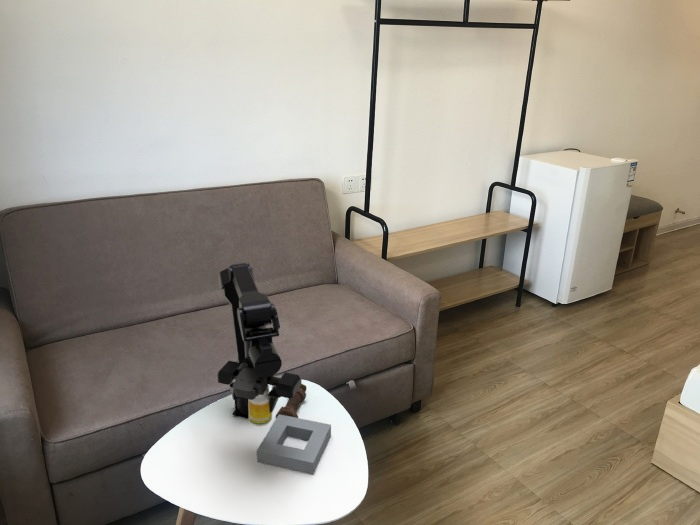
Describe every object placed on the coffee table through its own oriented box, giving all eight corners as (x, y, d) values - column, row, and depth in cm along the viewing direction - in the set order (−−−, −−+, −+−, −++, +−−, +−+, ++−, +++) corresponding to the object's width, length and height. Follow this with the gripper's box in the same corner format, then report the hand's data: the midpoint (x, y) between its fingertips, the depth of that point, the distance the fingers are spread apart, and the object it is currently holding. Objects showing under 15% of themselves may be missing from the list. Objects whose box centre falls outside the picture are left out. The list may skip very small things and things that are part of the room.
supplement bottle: (247, 414, 138) (246, 380, 134) (269, 410, 139) (269, 377, 135) (250, 429, 133) (249, 394, 129) (273, 425, 134) (273, 391, 131)
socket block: (257, 462, 137) (256, 450, 136) (279, 425, 149) (278, 414, 148) (313, 474, 134) (313, 462, 132) (330, 435, 146) (331, 424, 145)
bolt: (304, 398, 163) (288, 431, 149) (289, 388, 163) (272, 420, 149) (314, 384, 161) (299, 416, 147) (298, 374, 161) (282, 406, 147)
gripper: (201, 363, 124) (207, 421, 130) (281, 380, 119) (283, 440, 125) (227, 337, 134) (231, 393, 140) (302, 352, 129) (302, 409, 135)
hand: (260, 409), depth 135 cm, fingers closed on supplement bottle, 5 cm apart
